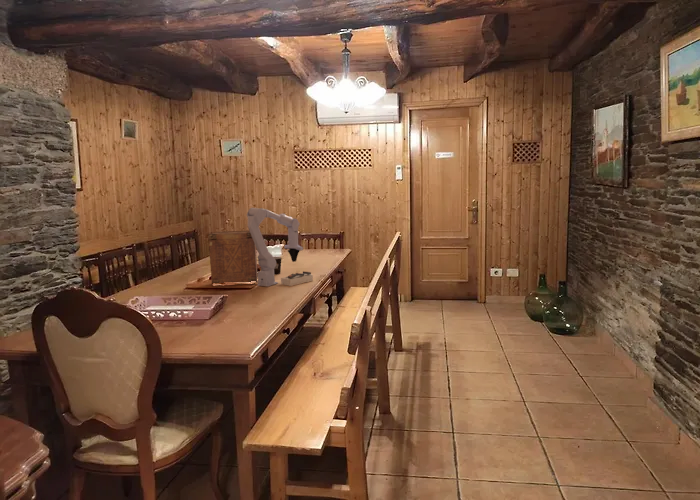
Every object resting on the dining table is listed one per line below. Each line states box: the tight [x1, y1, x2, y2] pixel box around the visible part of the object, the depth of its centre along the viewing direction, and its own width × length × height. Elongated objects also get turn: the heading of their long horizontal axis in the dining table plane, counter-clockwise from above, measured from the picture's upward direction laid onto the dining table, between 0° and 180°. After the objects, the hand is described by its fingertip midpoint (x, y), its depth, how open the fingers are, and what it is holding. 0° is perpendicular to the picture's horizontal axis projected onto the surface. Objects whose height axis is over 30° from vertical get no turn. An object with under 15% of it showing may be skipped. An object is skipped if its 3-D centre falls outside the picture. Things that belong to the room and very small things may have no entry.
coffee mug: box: [273, 256, 282, 276], centre depth 322 cm, size 12×9×10 cm
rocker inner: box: [287, 273, 296, 279], centre depth 290 cm, size 4×3×1 cm
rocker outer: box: [302, 270, 312, 275], centre depth 298 cm, size 4×3×1 cm
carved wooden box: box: [207, 230, 258, 284], centre depth 295 cm, size 25×9×30 cm, turn 96°
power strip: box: [280, 272, 314, 287], centre depth 295 cm, size 17×8×4 cm, turn 137°
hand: (294, 261), depth 304 cm, fingers closed
